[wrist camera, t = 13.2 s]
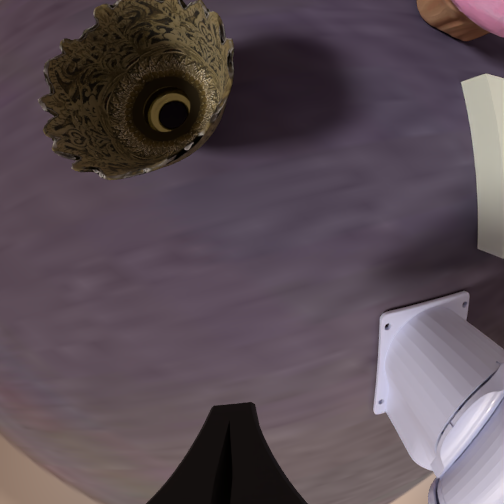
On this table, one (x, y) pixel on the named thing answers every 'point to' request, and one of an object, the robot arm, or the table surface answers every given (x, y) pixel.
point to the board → (488, 157)
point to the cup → (138, 86)
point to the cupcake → (464, 17)
